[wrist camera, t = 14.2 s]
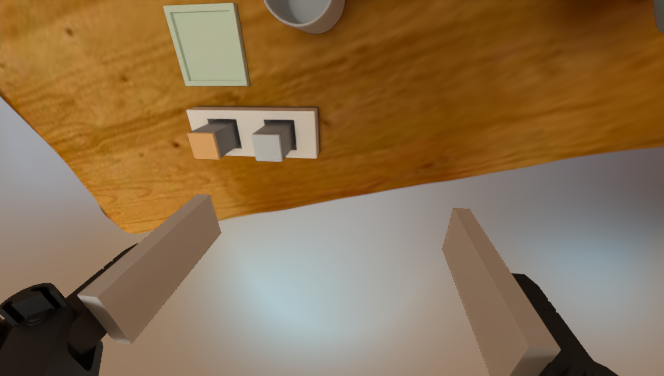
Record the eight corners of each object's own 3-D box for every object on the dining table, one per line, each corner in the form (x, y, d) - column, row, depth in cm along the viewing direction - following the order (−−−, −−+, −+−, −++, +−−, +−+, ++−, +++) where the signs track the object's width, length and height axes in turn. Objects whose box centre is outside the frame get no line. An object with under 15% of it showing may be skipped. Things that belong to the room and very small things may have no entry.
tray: (168, 7, 37) (162, 5, 36) (236, 4, 36) (233, 2, 35) (190, 85, 42) (185, 85, 41) (250, 85, 41) (247, 85, 40)
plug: (219, 118, 44) (187, 133, 36) (240, 118, 43) (212, 133, 36) (224, 140, 46) (194, 158, 38) (244, 140, 45) (218, 159, 37)
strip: (198, 105, 44) (186, 109, 41) (318, 107, 42) (314, 111, 39) (210, 147, 48) (199, 154, 45) (320, 151, 45) (316, 158, 42)
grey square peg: (272, 119, 43) (251, 134, 35) (294, 119, 42) (278, 135, 34) (275, 141, 45) (256, 160, 37) (296, 142, 44) (281, 161, 36)
